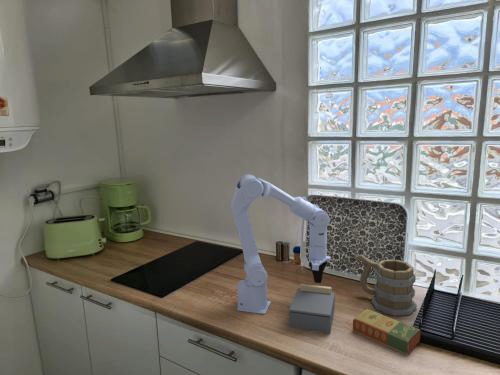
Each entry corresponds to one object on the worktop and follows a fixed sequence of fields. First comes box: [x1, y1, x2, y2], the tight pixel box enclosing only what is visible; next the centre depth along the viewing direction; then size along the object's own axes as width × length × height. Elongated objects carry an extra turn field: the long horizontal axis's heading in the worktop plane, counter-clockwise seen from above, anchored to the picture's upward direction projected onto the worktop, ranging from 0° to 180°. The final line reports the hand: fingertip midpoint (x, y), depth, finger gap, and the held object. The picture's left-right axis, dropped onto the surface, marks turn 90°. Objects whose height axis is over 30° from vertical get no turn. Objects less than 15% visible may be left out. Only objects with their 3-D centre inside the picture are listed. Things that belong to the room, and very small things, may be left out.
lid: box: [288, 283, 336, 317], centre depth 110 cm, size 12×14×2 cm
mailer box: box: [288, 295, 336, 335], centre depth 110 cm, size 12×14×5 cm
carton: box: [352, 308, 421, 356], centre depth 100 cm, size 8×16×4 cm, turn 44°
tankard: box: [354, 253, 417, 317], centre depth 118 cm, size 20×13×15 cm, turn 45°
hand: (317, 282), depth 121 cm, fingers closed
